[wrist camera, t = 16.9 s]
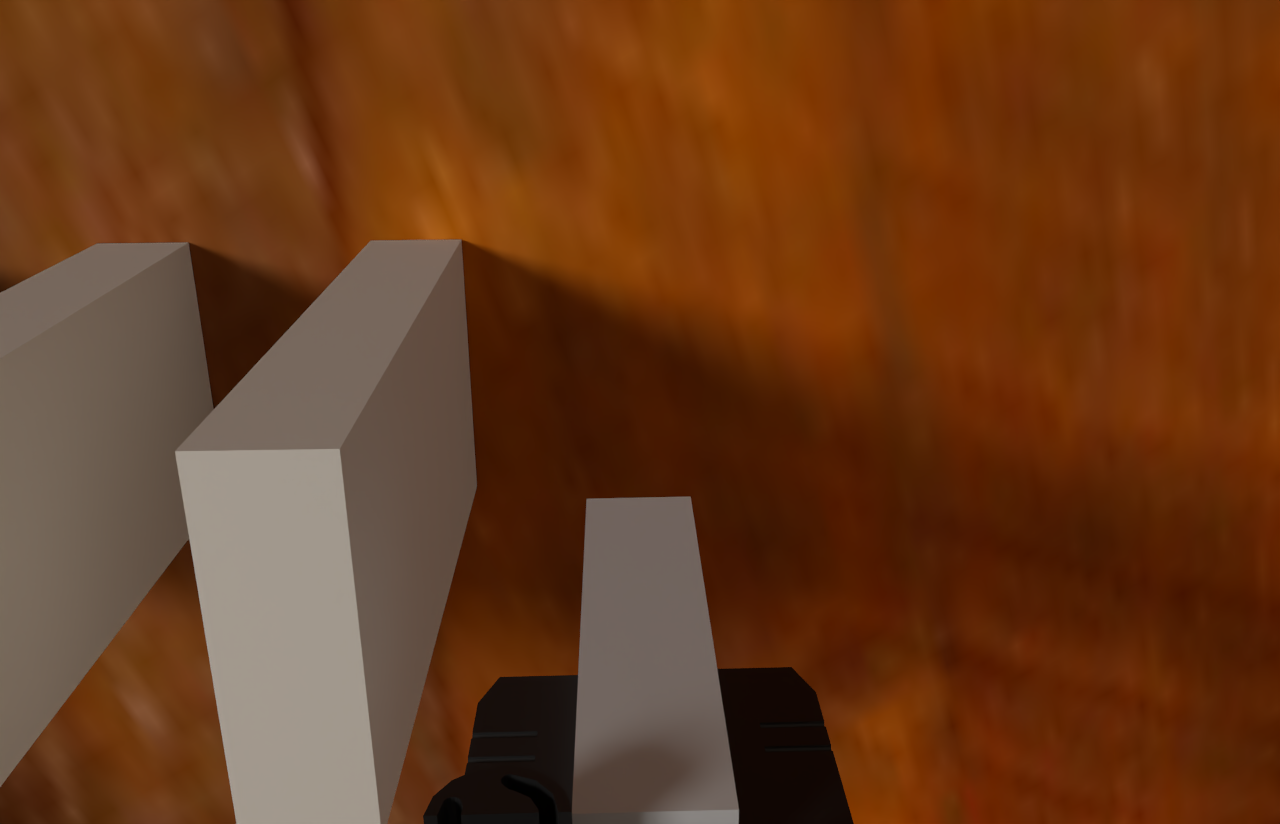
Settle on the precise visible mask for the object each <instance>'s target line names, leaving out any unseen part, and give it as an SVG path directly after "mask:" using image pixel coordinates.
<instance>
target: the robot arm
mask: <svg viewBox="0 0 1280 824" xmlns="http://www.w3.org/2000/svg"><path fill="white" fill-rule="evenodd" d="M423 818H424V824H853V820H852V817H851V813H850V810H849V806H848V803H847V799H846V796H845V792H844V789H843V785H842V782H841V778H840V775H839V771H838V768H837V764H836V761H835V757H834V754H833V751H831V744H830V740H829V737H828V733H827V730H826V727H824V719H823V716H822V712H821V709H820V705H819V702H818V698H817V695H816V692H815V691H814V690H813V689H812V688H811V687H810V686H809V685H808V684H807V683H806V682H805V681H804V680H803V679H802V678H801V677H800V676H799V675H798V674H797V673H796V671H795V670H794V669H793V668H792V667H782V668H740V669H717V664H716V658H715V651H714V645H713V638H712V632H711V625H710V619H709V612H708V606H707V599H706V593H705V586H704V580H703V573H702V567H701V560H700V554H699V547H698V541H697V534H696V528H695V521H694V515H693V508H692V502H691V496H690V497H643V498H595V499H586V520H585V542H584V563H583V584H582V606H581V627H580V648H579V669H578V675H569V676H527V677H500V678H499V679H498V680H497V681H496V682H495V684H494V685H493V686H492V687H491V688H490V690H489V691H488V692H487V693H486V694H485V696H484V697H483V698H482V699H481V700H480V702H479V703H478V706H477V712H476V717H475V722H474V728H473V738H472V739H471V744H470V750H469V755H468V763H467V766H466V771H465V775H464V776H461V777H459V778H457V779H454V780H452V781H451V782H450V783H448V784H447V785H446V786H445V787H444V788H443V789H441V790H440V791H439V792H438V793H437V794H436V795H434V796H433V798H432V800H431V802H430V804H429V806H428V808H427V810H426V812H425V814H424V816H423Z"/></svg>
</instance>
